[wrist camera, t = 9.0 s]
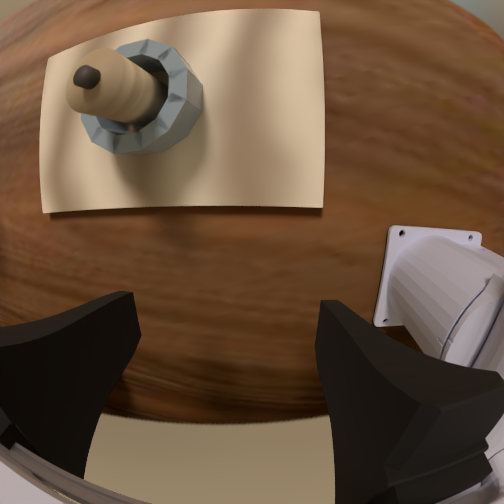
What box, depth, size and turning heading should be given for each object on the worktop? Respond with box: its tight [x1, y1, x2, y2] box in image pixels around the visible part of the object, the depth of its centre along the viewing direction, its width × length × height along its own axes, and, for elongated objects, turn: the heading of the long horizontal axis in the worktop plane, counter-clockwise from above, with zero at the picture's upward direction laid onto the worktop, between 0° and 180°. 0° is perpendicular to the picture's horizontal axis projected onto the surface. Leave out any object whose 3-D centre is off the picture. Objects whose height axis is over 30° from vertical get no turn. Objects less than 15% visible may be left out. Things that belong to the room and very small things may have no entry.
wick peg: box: [66, 48, 169, 128], centre depth 12 cm, size 3×3×8 cm
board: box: [40, 9, 325, 213], centre depth 16 cm, size 22×14×1 cm, turn 90°
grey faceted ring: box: [81, 39, 203, 155], centre depth 14 cm, size 7×7×4 cm
